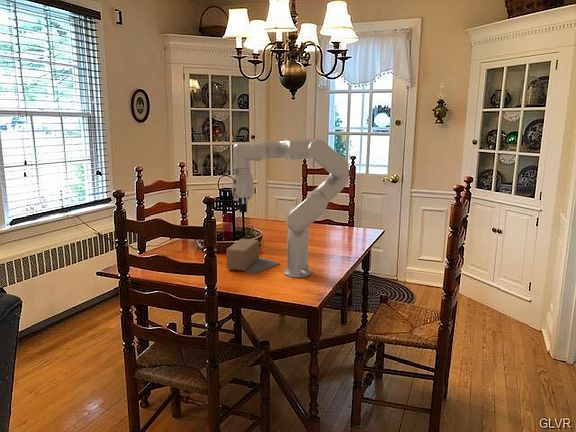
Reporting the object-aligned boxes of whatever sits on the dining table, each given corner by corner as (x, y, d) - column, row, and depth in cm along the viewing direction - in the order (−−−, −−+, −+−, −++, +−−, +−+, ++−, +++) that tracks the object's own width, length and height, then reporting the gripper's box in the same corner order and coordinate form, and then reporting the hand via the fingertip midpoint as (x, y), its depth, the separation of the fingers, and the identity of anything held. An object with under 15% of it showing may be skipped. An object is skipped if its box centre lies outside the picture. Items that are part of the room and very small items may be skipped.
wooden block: (245, 250, 208) (259, 239, 227) (225, 248, 211) (240, 237, 230) (246, 271, 211) (259, 258, 230) (225, 269, 213) (241, 256, 232)
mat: (253, 274, 209) (253, 273, 209) (233, 268, 217) (233, 267, 216) (279, 264, 223) (279, 262, 223) (259, 258, 231) (259, 257, 231)
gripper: (236, 174, 194) (237, 216, 198) (259, 170, 206) (260, 210, 210) (224, 172, 199) (225, 213, 203) (247, 169, 210) (248, 208, 214)
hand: (243, 212), depth 206 cm, fingers closed
